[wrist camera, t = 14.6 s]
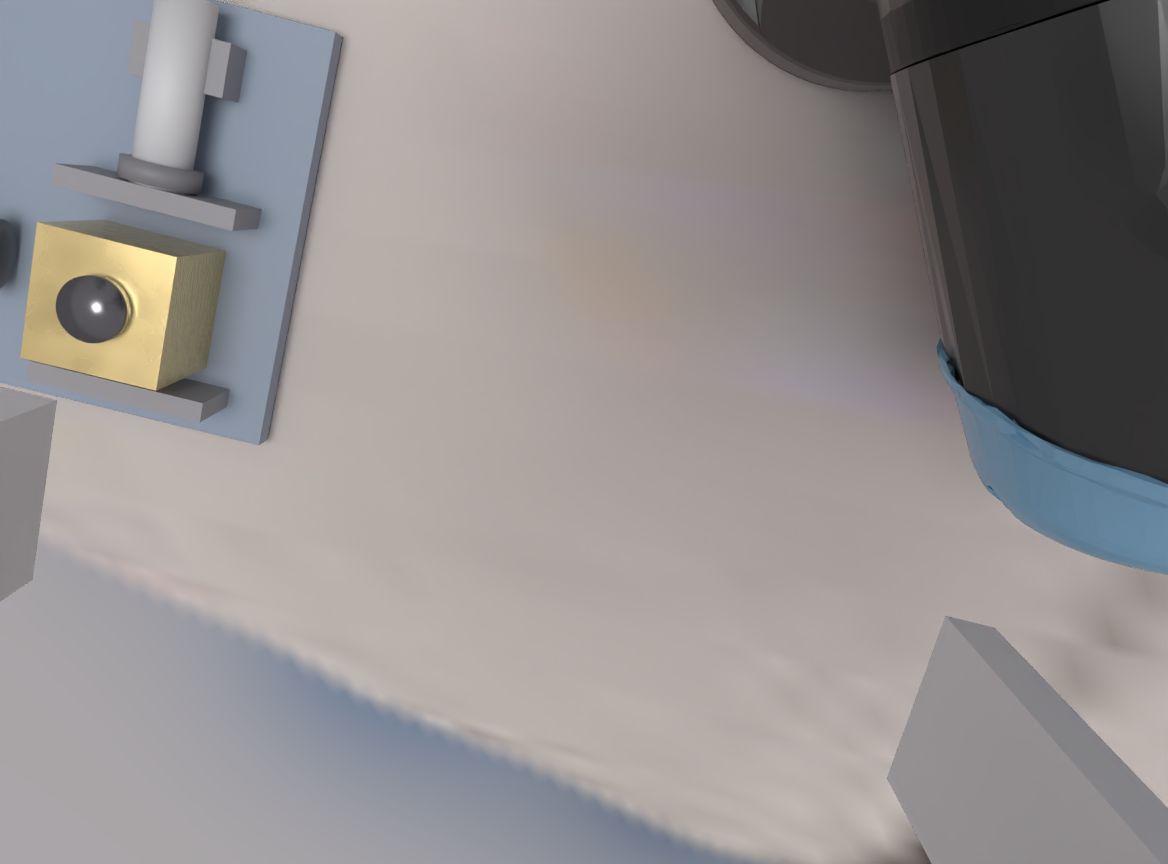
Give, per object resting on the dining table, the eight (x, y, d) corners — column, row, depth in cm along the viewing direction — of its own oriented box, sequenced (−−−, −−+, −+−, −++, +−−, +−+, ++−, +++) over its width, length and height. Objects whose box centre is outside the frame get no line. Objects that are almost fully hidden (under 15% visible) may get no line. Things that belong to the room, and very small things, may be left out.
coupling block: (86, 339, 41) (11, 360, 36) (103, 219, 40) (27, 222, 35) (206, 368, 41) (149, 393, 36) (226, 250, 40) (170, 258, 35)
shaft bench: (-61, -71, 39) (-143, -106, 34) (342, 37, 40) (312, 16, 35) (-102, 349, 42) (-181, 366, 38) (267, 438, 43) (231, 465, 39)
